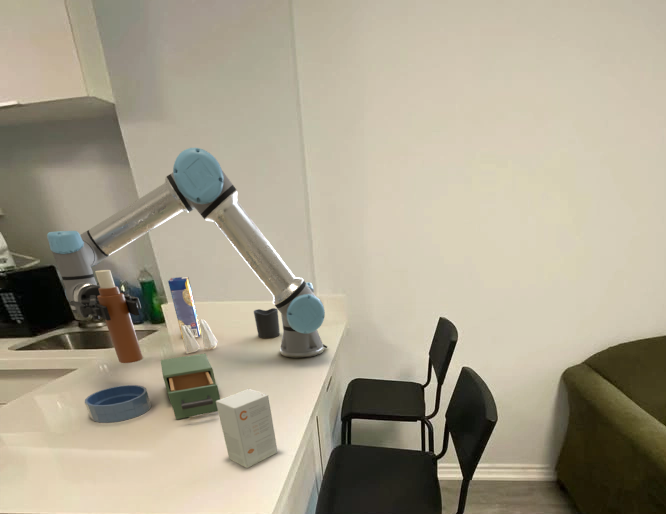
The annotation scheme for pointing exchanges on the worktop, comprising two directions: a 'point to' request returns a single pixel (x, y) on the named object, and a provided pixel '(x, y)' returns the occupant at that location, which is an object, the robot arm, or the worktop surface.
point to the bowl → (118, 403)
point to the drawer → (193, 394)
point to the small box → (247, 427)
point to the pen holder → (267, 323)
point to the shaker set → (207, 338)
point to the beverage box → (184, 304)
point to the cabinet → (185, 367)
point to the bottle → (118, 319)
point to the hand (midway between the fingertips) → (121, 311)
